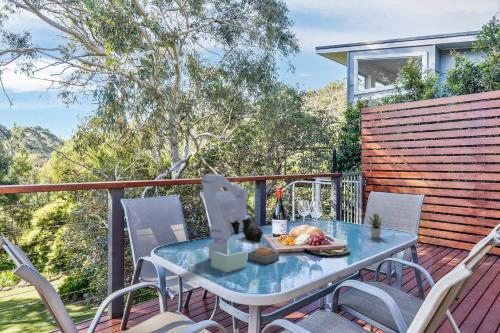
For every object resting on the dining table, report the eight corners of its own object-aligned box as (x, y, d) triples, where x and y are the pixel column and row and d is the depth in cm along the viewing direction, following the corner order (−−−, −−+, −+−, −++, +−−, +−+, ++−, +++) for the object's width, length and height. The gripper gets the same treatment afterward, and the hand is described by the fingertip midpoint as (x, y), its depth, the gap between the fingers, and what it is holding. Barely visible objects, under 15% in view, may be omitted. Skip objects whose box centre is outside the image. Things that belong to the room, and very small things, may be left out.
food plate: (295, 249, 199) (295, 243, 198) (321, 243, 213) (322, 237, 213) (331, 261, 179) (332, 254, 179) (357, 253, 194) (358, 247, 194)
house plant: (360, 234, 239) (360, 210, 238) (381, 234, 238) (381, 210, 238) (366, 239, 225) (366, 213, 224) (388, 239, 224) (388, 213, 224)
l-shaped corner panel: (246, 266, 168) (246, 251, 168) (226, 272, 160) (226, 256, 160) (230, 261, 177) (230, 246, 177) (211, 266, 169) (211, 250, 169)
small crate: (265, 261, 176) (265, 251, 175) (254, 258, 180) (254, 248, 180) (271, 258, 179) (271, 249, 179) (261, 256, 184) (261, 246, 184)
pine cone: (256, 243, 215) (256, 226, 214) (239, 237, 229) (239, 222, 229) (269, 240, 221) (269, 224, 220) (252, 235, 235) (252, 220, 235)
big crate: (266, 264, 172) (266, 257, 172) (247, 259, 180) (247, 252, 180) (279, 259, 180) (279, 252, 180) (260, 255, 188) (260, 248, 188)
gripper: (237, 211, 189) (237, 236, 190) (255, 208, 200) (254, 232, 201) (228, 210, 194) (228, 234, 194) (245, 207, 205) (245, 230, 205)
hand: (241, 233), depth 198 cm, fingers open, 7 cm apart
